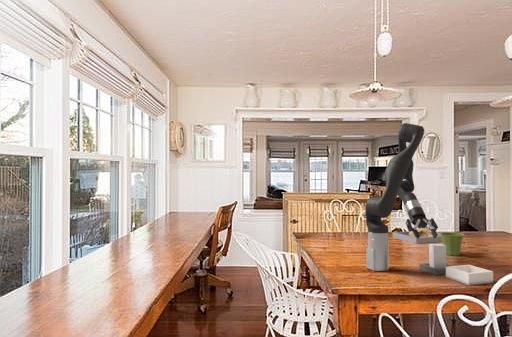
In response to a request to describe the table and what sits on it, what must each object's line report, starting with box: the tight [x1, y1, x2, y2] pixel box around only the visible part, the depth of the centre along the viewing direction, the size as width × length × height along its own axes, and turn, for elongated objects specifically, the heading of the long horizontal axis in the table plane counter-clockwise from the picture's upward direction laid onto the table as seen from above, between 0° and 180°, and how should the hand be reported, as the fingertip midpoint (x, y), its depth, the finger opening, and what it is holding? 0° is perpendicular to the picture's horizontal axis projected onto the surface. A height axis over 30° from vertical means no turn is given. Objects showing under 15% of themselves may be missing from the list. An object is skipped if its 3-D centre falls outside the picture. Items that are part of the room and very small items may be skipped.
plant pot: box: [439, 231, 465, 257], centre depth 219 cm, size 12×12×11 cm
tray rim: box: [392, 230, 443, 245], centre depth 266 cm, size 24×24×4 cm
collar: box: [419, 262, 451, 276], centre depth 184 cm, size 11×11×2 cm
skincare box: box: [428, 243, 447, 268], centre depth 184 cm, size 6×4×12 cm
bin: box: [445, 264, 494, 286], centre depth 169 cm, size 12×12×4 cm
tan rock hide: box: [409, 228, 433, 238], centre depth 264 cm, size 18×14×8 cm
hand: (427, 237), depth 193 cm, fingers open, 8 cm apart
